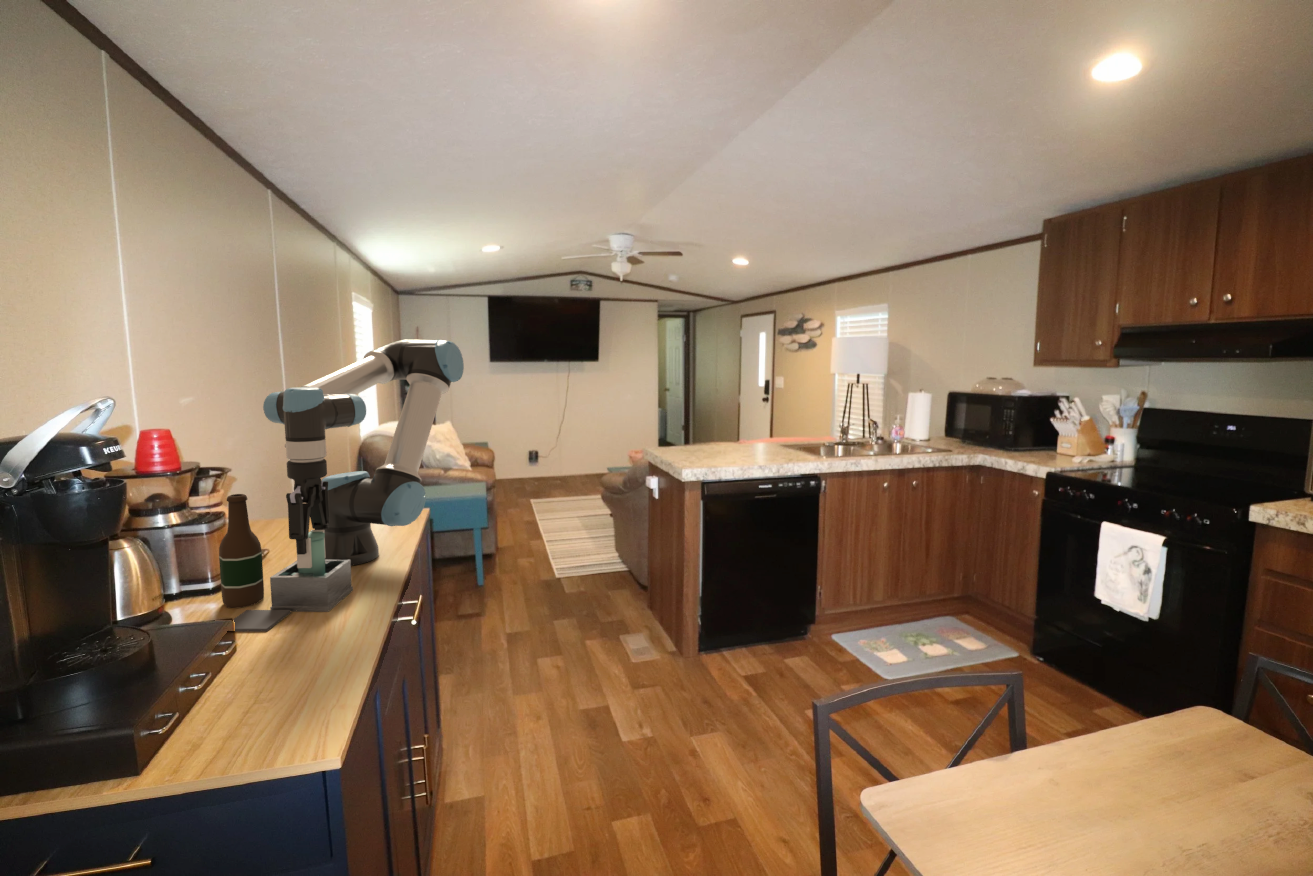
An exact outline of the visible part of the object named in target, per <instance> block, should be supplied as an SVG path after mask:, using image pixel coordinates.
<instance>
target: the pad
mask: <svg viewBox="0 0 1313 876" xmlns="http://www.w3.org/2000/svg"><path fill="white" fill-rule="evenodd" d="M291 613H292V612H291V610H270V609H246V610H244V611H242V613H240V614H239V615H237V616H235V617H233V619H234V622H235V632H237V633H239V632H240V633H241V632H248V633H249V632H256V633H257V632H268V631H269V630H271V629H272V628H273V627H275V626H276V625H277V624H279V622H281V621H283V620H284V619H285V618H286V617H287V616H289V615H290V614H291Z"/></svg>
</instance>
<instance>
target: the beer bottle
mask: <svg viewBox="0 0 1313 876" xmlns="http://www.w3.org/2000/svg"><path fill="white" fill-rule="evenodd" d="M247 500H248V497H247V495H246V494H244V493H235V494H231V495H228V496H227V497H226V502H228V505H227V506H228V508H227V510H228V511H227V513H228V514H227V516H228V517H227V518H228V519H227V521H228V522H227V531H226V534H224V536H223V538H222V539H221V541H220V544H219V547H218V559H219V560H218V561H219V562H218V563H219V573H220V574H219V575H220V588H221V589H220V591H221V600H222V604H223V605H224V606H225V607H226V608H228V609H230V608H231V609H232V608H233V609H238V608H239V609H242V608H246V607H249V606H250V607H251V606H254V605H256V604H258V603H259V602H261V601H263V600H264V599H265V587H264V585H265V582H264V568H263V566H264V565H263V551H262V550H263V549H262V546H261V542H260V539H259V537H258V536H257V535H256V534H255V533H254V532H253V531H252V529H251V526H250V521H249V512H248V507H247Z"/></svg>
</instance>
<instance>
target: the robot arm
mask: <svg viewBox="0 0 1313 876" xmlns="http://www.w3.org/2000/svg"><path fill="white" fill-rule="evenodd" d="M464 367H465V366H464V358H463V354H462V351H461V349H460V348H459V347H458V345H457V344H456V343H455V342H453V341H450V340H442V339H435V340H434V339H409V338H408V339H407V338H406V339H400V340H396V341H393V342H390V343H387V344H384V345H382V346H379V347H376V348H375V349H372V350H371V351H368V352H366V353H365V355H364V356H363V358H362V359H360V360H357V361H355V362H353V363H351V364H348V365H346V366H344V367H342V368H340V369H339V368H338V370H336V371H333V372H331V373H329V374H327V375H323V376H322V377H320V378H317V379H315V380H313V381H311V382H309V383H307V384H304V385H301V386H300V387H288V388H286V389H285V390H284V391H283V390H282V391H281V390H280V391H275V392H271V393H269V394H268V395H266V397H265V399H264V401H263V406H262V408H263V414H264V416H265V417H266V418H267V420H268V421H269V422H272V423H275V424H282V425H284V435H285V437H284V439H285V444H284V448H285V452H286V454H285V455H286V459H287V460H288V461H287V462H286V474H287V475H286V476H287V478H288V479H290V480H293V481H294V486H293V491H292V492H290V493H289V492H287V493H286V495H285V498H286V502H287V512H288V513H287V515H288V538H289V539H290V540H295V547H296V550H295V551H296V561H297V568H311V567H312V554H311V538H308V533H309V532H323V533H325V538H324V549H325V560H351V566H352V567H353V566H357V565H361V564H365V563H369V562H371V561H373V560H375V559H377V558H378V557H379V555H380V552H379V549H380V548H379V545H378V542H377V540H376V537H375V534H374V533H373V529H372V527H371V524H372V525H384V526H387V527H388V526H389V527H397V526H398V527H406V526H408V525H410V524H412V523H414V522H415V521H416V520H417V519H419V517H420V516H421V514H422V512H423V510H424V508H425V506H426V505H425V504H426V500H427V499H426V498H427V497H426V496H425V495H426V490H425V488H424V486H423V484H422V477H421V476H420V474H419V469H420V467H421V464H422V459H423V457H424V455H425V454H424V453H425V450H426V447H427V443H428V440H429V437H430V433H431V430H432V427H433V423H434V420H435V417H436V413H437V411H438V406H439V404H440V400H441V397H442V395H443V394H447V393H448V392H449V391H450V387H451V383H455V382H459V380H461V379H462V377H463V375H464V369H465V368H464ZM398 380H406V381H407V383H408V384H409V388H408V390H407V394H406V397H405V399H404V403H403V406H402V409H401V412H400V416H399V419H398V421H397V424H396V427H395V429H394V430H395V431H394V433H393V437H392V440H391V443H390V445H389V448H388V452H387V455H386V458H385V462H384V464H383V465H381V466H378V467H377V468H376V469H375V472H374V475H373V478H370V477H371V476H370V474H369V472H368V471H365V470H360V471H359V470H357V471H349V472H343V473H335V474H331V475H328V469H327V468H328V467H327V466H328V465H327V460H326V459H325V457H327V455H328V454H327V441H326V430H327V429H337V428H344V427H346V428H349V427H352V426H356V425H359V424H361V423H362V422H363V421H364V420H365V418H366V416H367V406H366V403H365V401H364V399H363V398H362V397H361V396H360V395H358V394H360V393H362V392H364V391H365V390H367V389H370V388H371V387H373V386H375V385H378V384H381V385H383V384H387V383H389V382H391V381H398ZM327 475H328V476H327ZM310 522H311V523H310ZM310 524H311V528H312V529H311V530H310Z"/></svg>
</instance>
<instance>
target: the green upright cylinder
mask: <svg viewBox="0 0 1313 876" xmlns="http://www.w3.org/2000/svg"><path fill="white" fill-rule="evenodd" d="M308 538H311V554H312V567H311V568H298V573H314V576H325V575H326V574H327V573H325V549H324V538H325V533H323V532H310V531H309V533H308ZM294 574H296V573H292V574H291V576H293V575H294Z"/></svg>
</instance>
